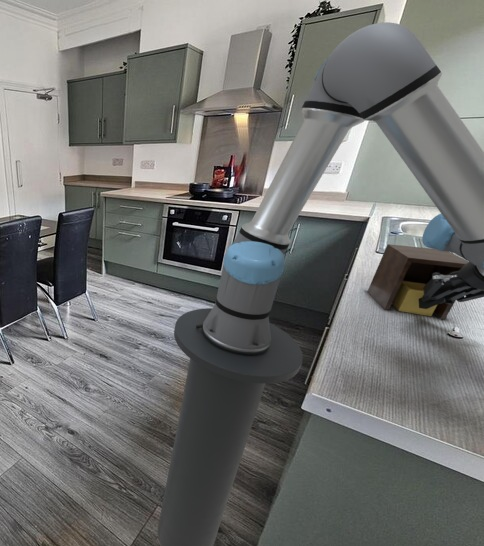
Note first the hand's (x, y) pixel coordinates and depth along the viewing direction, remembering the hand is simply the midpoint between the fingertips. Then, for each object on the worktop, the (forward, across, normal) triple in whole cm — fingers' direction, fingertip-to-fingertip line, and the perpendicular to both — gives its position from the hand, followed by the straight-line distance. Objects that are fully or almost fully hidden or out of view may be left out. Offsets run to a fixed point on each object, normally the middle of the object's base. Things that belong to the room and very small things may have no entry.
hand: (422, 303), depth 85 cm
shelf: (+8, 0, +2) cm, 8 cm away
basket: (+6, 0, +1) cm, 6 cm away
